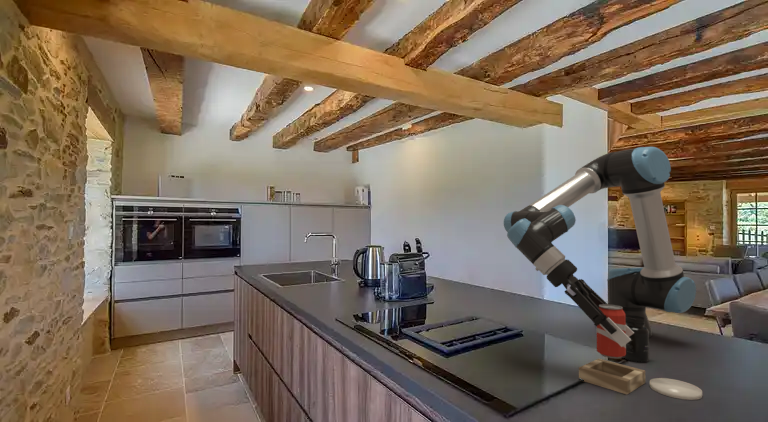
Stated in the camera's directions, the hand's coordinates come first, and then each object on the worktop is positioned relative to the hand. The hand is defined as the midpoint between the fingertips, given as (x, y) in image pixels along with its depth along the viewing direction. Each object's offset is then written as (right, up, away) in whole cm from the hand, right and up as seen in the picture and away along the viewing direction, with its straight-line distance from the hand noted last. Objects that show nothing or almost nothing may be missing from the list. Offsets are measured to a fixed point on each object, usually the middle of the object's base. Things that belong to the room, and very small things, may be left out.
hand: (627, 339), depth 98 cm
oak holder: (-3, -11, +2) cm, 11 cm away
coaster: (+9, -11, -3) cm, 15 cm away
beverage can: (-3, -5, +2) cm, 6 cm away
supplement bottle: (+13, -12, +19) cm, 26 cm away
